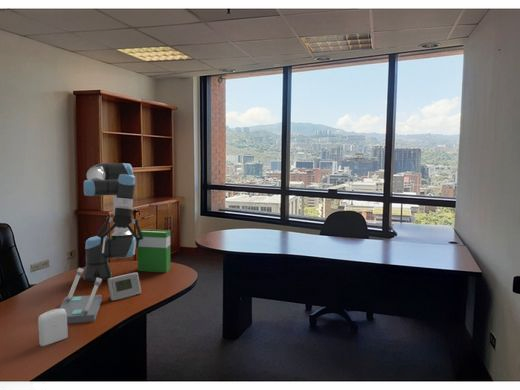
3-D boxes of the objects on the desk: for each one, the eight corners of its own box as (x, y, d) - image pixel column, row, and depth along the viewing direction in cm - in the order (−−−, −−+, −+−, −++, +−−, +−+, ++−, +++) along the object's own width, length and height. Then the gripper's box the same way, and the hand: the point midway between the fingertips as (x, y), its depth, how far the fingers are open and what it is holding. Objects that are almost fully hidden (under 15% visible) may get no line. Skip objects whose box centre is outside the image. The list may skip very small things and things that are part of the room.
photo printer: (42, 347, 154) (40, 316, 153) (37, 343, 157) (35, 312, 155) (69, 338, 162) (68, 307, 160) (64, 334, 165) (63, 305, 163)
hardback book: (137, 270, 247) (137, 231, 244) (142, 267, 255) (142, 229, 252) (166, 272, 246) (166, 232, 243) (170, 268, 253) (170, 230, 250)
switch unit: (101, 300, 200) (101, 294, 200) (94, 321, 177) (94, 314, 177) (65, 302, 197) (65, 296, 196) (53, 324, 173) (53, 317, 173)
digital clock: (110, 302, 199) (109, 280, 197) (105, 296, 206) (105, 275, 205) (143, 296, 208) (143, 275, 206) (138, 290, 215) (137, 270, 214)
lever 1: (72, 297, 196) (84, 269, 195) (70, 302, 191) (82, 272, 190) (67, 296, 195) (78, 267, 195) (64, 300, 190) (76, 271, 189)
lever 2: (89, 309, 183) (102, 278, 182) (87, 314, 178) (100, 283, 177) (84, 308, 182) (96, 277, 182) (82, 313, 177) (95, 281, 177)
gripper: (94, 205, 183) (89, 253, 183) (152, 210, 193) (147, 256, 192) (94, 204, 190) (89, 250, 190) (150, 209, 200) (145, 253, 199)
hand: (118, 253), depth 191 cm, fingers open, 13 cm apart
